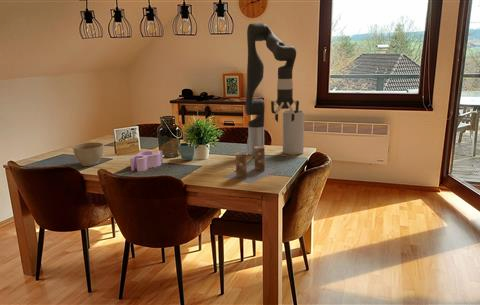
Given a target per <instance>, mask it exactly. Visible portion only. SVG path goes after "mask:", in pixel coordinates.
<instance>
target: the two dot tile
mask: <svg viewBox="0 0 480 305" xmlns="http://www.w3.org/2000/svg"><path fill="white" fill-rule="evenodd" d="M265 157H266V156H265V145H264V146H255V156H254V166H255V171H265V168H266V167H265V166H266V165H265V163H266V162H265V160H266V159H265Z"/></svg>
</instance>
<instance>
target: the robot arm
mask: <svg viewBox="0 0 480 305" xmlns="http://www.w3.org/2000/svg"><path fill="white" fill-rule="evenodd" d="M246 36H247V37H246V38H247V41H246V42H247V65H246V94H245V95H246V97H245V105H244V106H245V113H246V115H247V116H256V117H255V118H253V119H251V120H249V121H248V124H247V125H248V138H247V139H246V140H247V143H246V146H247V147H246V148H247V151H246V155H249V156H251V157H255V146H264V147H265V108H266V107H265V100H264V99H262V98H254V94H255V92H256V90H257V88H259V85H260V84H261V83H262V81H263V78H264V69H265V67H264V63H263V61H262V59H261V56H260V55H259V53H258V51H257V48H256V42H264V41H265V46H266V48H267V49H268V50H269V51H270V52H271V53H272V55H273V57H274V59H275V60H276V61H279V62H285V64H283V65H281V66H278V69H277V86H276V90H277V92H276V93H277V97H276V100H270V109H271V113H272V114H274V120H275V121H276V122H277V123H278V122H279V113H280V111H281V109H282V110H285V109H286V110H287V109H289V110H291V112H292V114H291V122H293V120H294V114H295V113H298V110H299V108H300V101H299V100H298V99H297V100H294V99H293V98H294V97H293V96H294V95H293V91H294V90H293V89H294V88H293V86H294V84H293V83H294V82H293V69H294V65H295V62H296V58H297V50H296V48H295V47H294V46H293V45H285V43H284V42H283V41H282V40H281V39H280V38H279V37H277V36H276V35H275V34H274V33H273V31H272V29H271V28H270V27H269V26H268V24H266V23H263V22H259V23H257V22H256V23H255V22H254V23H249V24H248V26H247V28H246ZM276 104H277V108H276V110H275V105H276ZM293 104H294V105H295V109H293V107H292V105H293ZM293 110H295V111H293Z"/></svg>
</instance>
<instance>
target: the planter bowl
mask: <svg viewBox="0 0 480 305" xmlns="http://www.w3.org/2000/svg"><path fill="white" fill-rule="evenodd" d="M72 150H73V154H74V157H75V158H76V159H77V161H78V162H79V163H80V165H81V166H84V167H92V165H94V166H97V165H99V164H100V160H102V159H101V158H102V157H103V153H104V144H103V142H96V141H95V142H92V141H91V142H84V143H82V142H81V143H78V144H75V145H73V146H72ZM98 163H99V164H98ZM96 164H97V165H96Z"/></svg>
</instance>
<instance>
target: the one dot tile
mask: <svg viewBox="0 0 480 305" xmlns="http://www.w3.org/2000/svg"><path fill="white" fill-rule="evenodd" d="M247 160H248V158H247V151H236V152H235V172H236V179H247V167H248V164H247V162H248V161H247Z"/></svg>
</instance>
